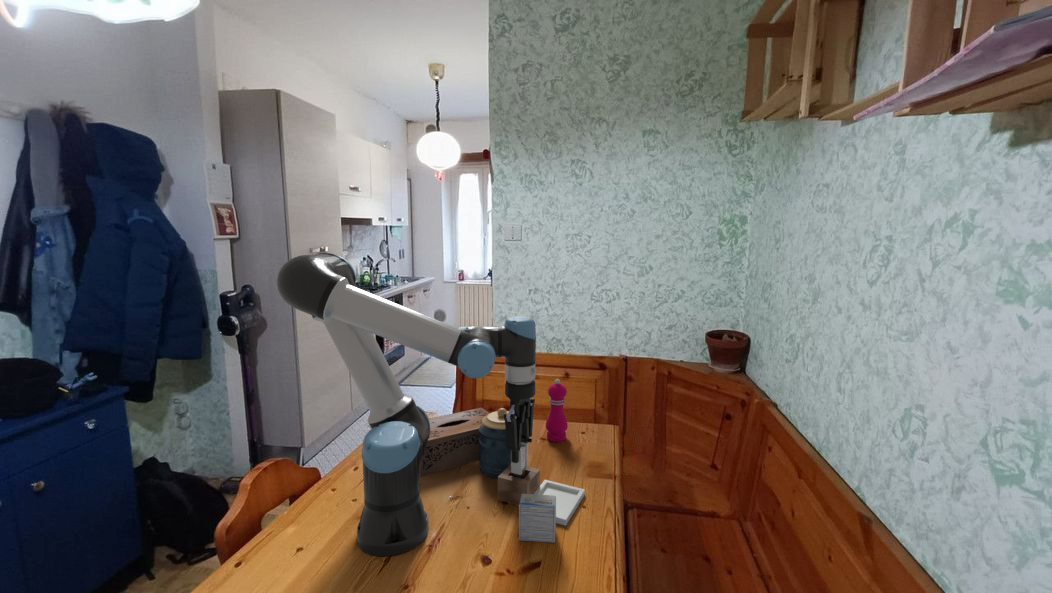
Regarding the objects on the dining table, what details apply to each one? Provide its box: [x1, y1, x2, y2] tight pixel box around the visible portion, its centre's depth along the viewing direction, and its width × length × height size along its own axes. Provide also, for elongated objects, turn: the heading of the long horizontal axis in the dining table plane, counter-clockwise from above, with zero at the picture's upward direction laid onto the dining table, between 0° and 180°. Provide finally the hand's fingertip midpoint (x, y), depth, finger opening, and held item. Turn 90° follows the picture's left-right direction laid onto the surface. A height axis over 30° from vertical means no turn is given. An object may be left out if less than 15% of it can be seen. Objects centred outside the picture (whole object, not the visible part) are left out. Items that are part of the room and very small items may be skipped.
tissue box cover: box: [419, 407, 491, 477], centre depth 137 cm, size 26×14×10 cm, turn 122°
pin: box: [514, 444, 525, 479], centre depth 114 cm, size 3×3×10 cm
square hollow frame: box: [497, 464, 541, 506], centre depth 115 cm, size 8×8×6 cm
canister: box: [478, 407, 511, 479], centre depth 128 cm, size 13×13×18 cm
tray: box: [534, 479, 586, 527], centre depth 112 cm, size 11×14×2 cm
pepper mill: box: [545, 378, 569, 443], centre depth 148 cm, size 7×7×20 cm
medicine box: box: [518, 494, 557, 544], centre depth 99 cm, size 8×4×9 cm, turn 84°
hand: (519, 469), depth 115 cm, fingers closed on pin, 3 cm apart
